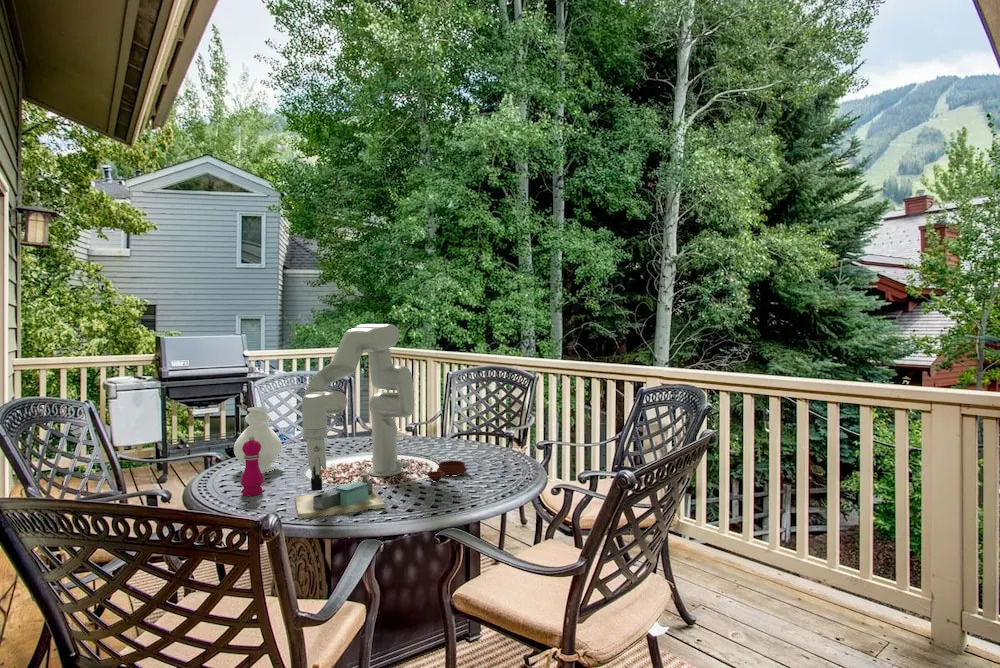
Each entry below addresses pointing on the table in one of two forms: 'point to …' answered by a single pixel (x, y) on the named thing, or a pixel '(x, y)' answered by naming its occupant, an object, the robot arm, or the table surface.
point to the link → (333, 498)
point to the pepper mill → (251, 468)
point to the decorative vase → (259, 439)
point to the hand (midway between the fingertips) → (316, 489)
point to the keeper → (353, 493)
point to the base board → (306, 505)
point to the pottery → (447, 469)
